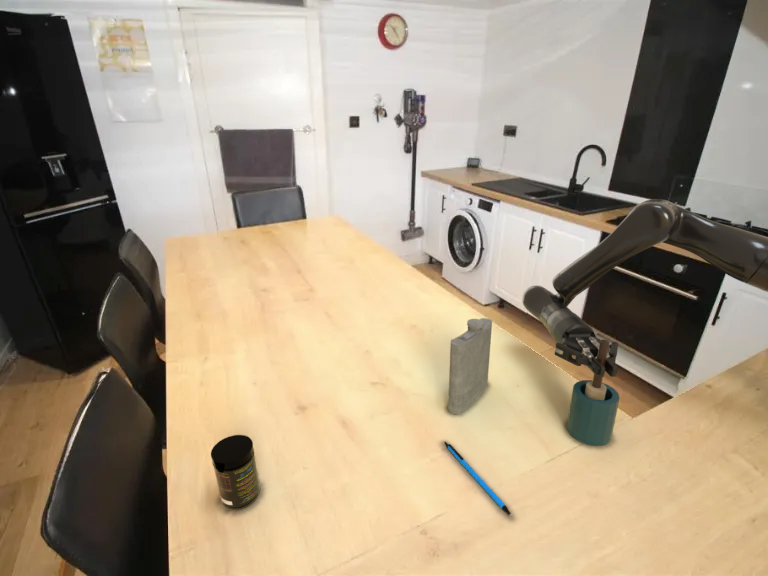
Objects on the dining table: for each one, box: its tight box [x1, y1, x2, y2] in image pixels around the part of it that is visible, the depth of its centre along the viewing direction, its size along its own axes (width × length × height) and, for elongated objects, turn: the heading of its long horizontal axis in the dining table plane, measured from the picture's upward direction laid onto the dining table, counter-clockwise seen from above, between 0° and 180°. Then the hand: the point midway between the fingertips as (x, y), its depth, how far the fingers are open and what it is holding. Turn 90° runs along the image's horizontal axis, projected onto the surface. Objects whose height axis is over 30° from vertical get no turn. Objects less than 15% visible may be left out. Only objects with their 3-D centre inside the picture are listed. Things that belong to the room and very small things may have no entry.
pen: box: [444, 441, 512, 516], centre depth 75 cm, size 1×19×1 cm, turn 27°
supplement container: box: [210, 434, 261, 510], centre depth 71 cm, size 7×7×10 cm
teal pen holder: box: [566, 379, 620, 447], centre depth 83 cm, size 8×8×10 cm
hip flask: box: [447, 317, 493, 415], centre depth 94 cm, size 16×4×20 cm, turn 141°
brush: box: [585, 339, 611, 401], centre depth 80 cm, size 4×4×16 cm
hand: (608, 372), depth 77 cm, fingers closed on brush
